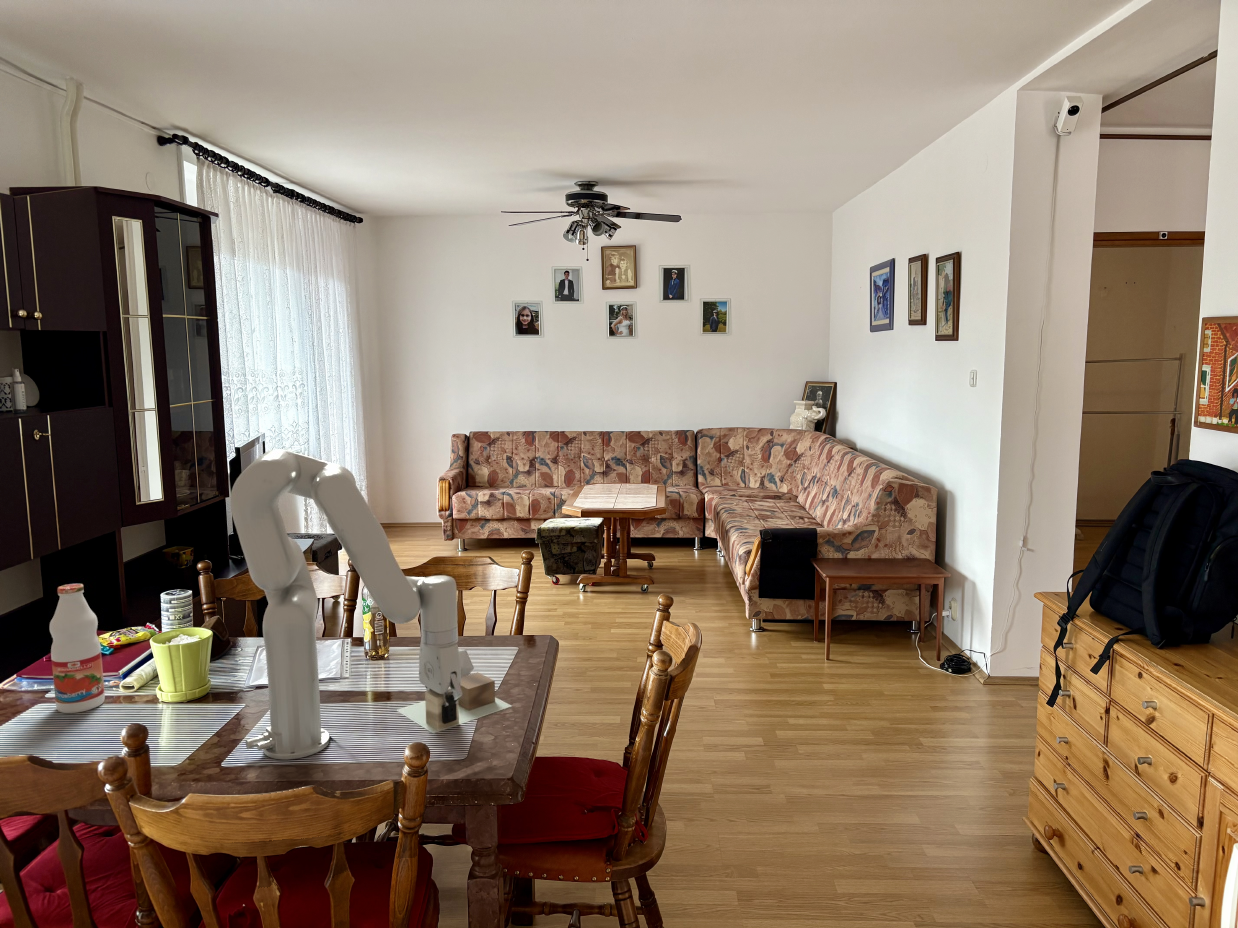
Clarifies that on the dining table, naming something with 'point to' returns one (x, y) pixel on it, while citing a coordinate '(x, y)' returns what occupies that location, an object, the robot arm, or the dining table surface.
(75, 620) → the fruit juice
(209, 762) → the dining table surface
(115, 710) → the dining table surface
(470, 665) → the die
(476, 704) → the walnut block
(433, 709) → the maple block
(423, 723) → the build board
